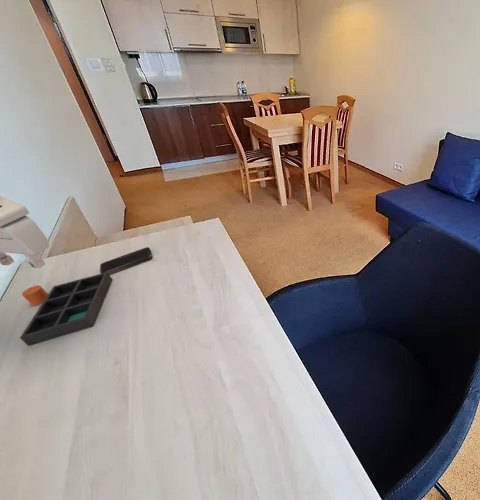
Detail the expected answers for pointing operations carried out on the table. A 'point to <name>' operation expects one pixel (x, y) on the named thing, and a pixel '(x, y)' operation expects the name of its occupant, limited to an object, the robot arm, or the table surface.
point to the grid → (68, 309)
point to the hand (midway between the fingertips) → (24, 265)
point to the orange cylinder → (35, 295)
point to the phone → (126, 261)
